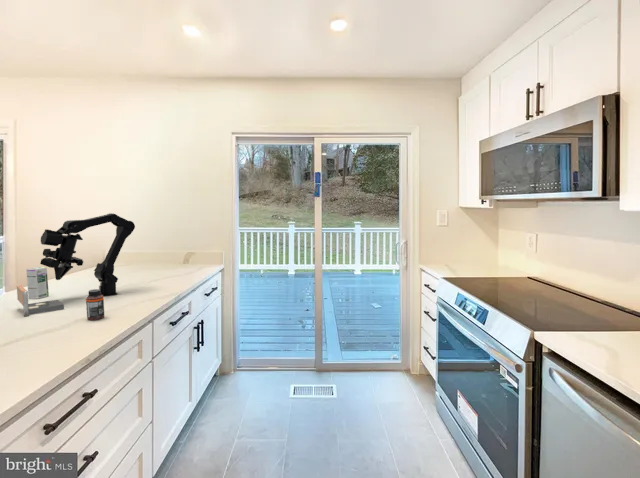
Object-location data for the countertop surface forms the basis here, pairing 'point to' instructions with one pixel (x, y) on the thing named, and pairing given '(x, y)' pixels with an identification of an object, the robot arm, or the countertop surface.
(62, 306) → the plate
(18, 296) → the peach rectangular plank
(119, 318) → the countertop surface
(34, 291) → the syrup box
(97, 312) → the supplement bottle
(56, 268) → the robot arm
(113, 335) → the countertop surface
